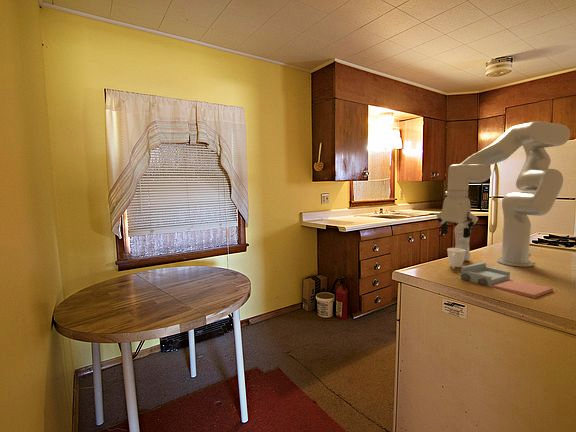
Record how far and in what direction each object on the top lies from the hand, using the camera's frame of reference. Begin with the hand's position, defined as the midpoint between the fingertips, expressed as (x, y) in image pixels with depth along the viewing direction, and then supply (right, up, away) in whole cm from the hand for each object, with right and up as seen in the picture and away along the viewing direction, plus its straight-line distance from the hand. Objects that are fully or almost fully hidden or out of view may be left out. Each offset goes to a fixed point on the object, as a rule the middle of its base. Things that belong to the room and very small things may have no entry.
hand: (454, 235), depth 124 cm
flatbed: (+3, -16, -14) cm, 21 cm away
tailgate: (+9, -16, -25) cm, 31 cm away
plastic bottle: (+11, -13, +13) cm, 21 cm away
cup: (+1, -14, +2) cm, 15 cm away
